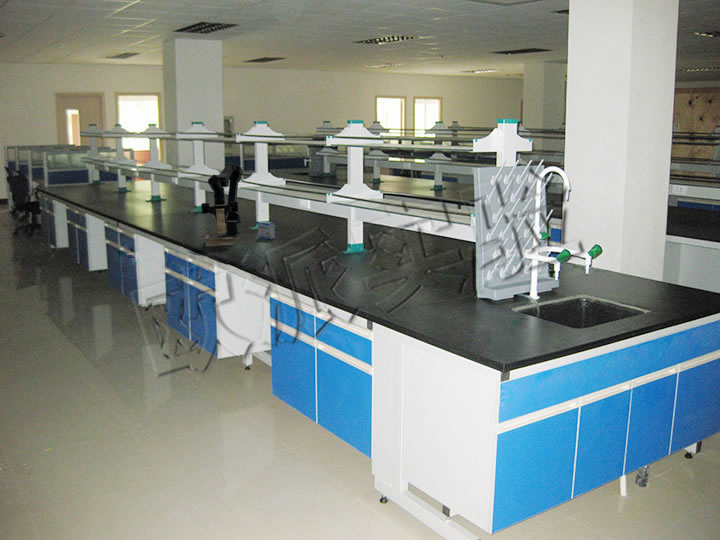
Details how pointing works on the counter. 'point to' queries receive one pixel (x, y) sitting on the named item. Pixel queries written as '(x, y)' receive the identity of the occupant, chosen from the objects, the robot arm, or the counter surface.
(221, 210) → the oak plank block
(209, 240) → the lock board
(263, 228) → the medicine box
